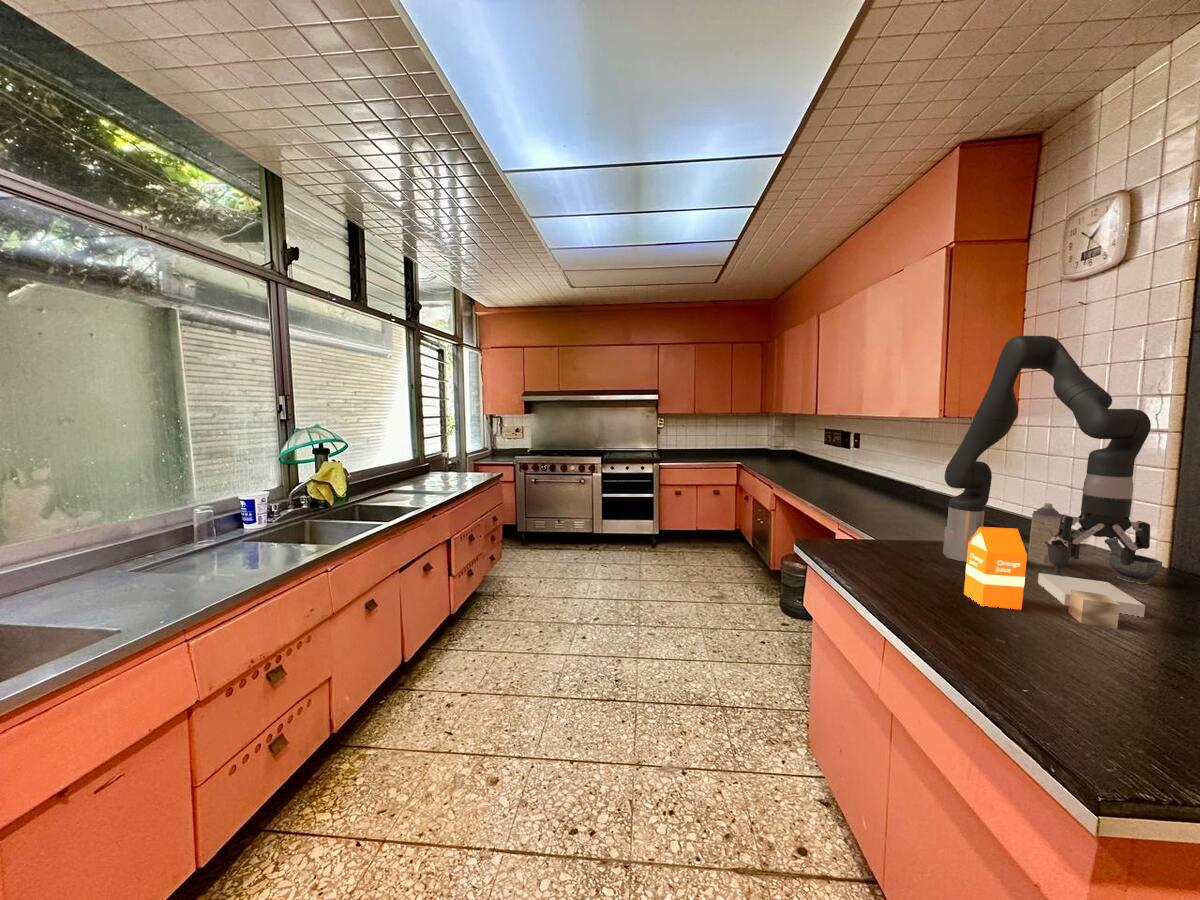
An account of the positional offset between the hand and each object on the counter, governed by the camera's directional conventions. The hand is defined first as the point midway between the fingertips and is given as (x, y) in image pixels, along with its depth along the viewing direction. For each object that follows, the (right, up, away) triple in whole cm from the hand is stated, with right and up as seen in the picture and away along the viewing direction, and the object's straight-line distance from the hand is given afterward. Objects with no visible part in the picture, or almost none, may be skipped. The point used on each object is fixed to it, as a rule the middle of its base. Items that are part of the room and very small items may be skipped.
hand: (1099, 561), depth 102 cm
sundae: (+20, -12, +28) cm, 37 cm away
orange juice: (-15, -14, +12) cm, 24 cm away
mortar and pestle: (+39, -12, +26) cm, 48 cm away
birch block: (0, -15, +2) cm, 15 cm away
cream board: (+12, -13, +13) cm, 22 cm away
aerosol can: (+27, -11, +39) cm, 49 cm away
